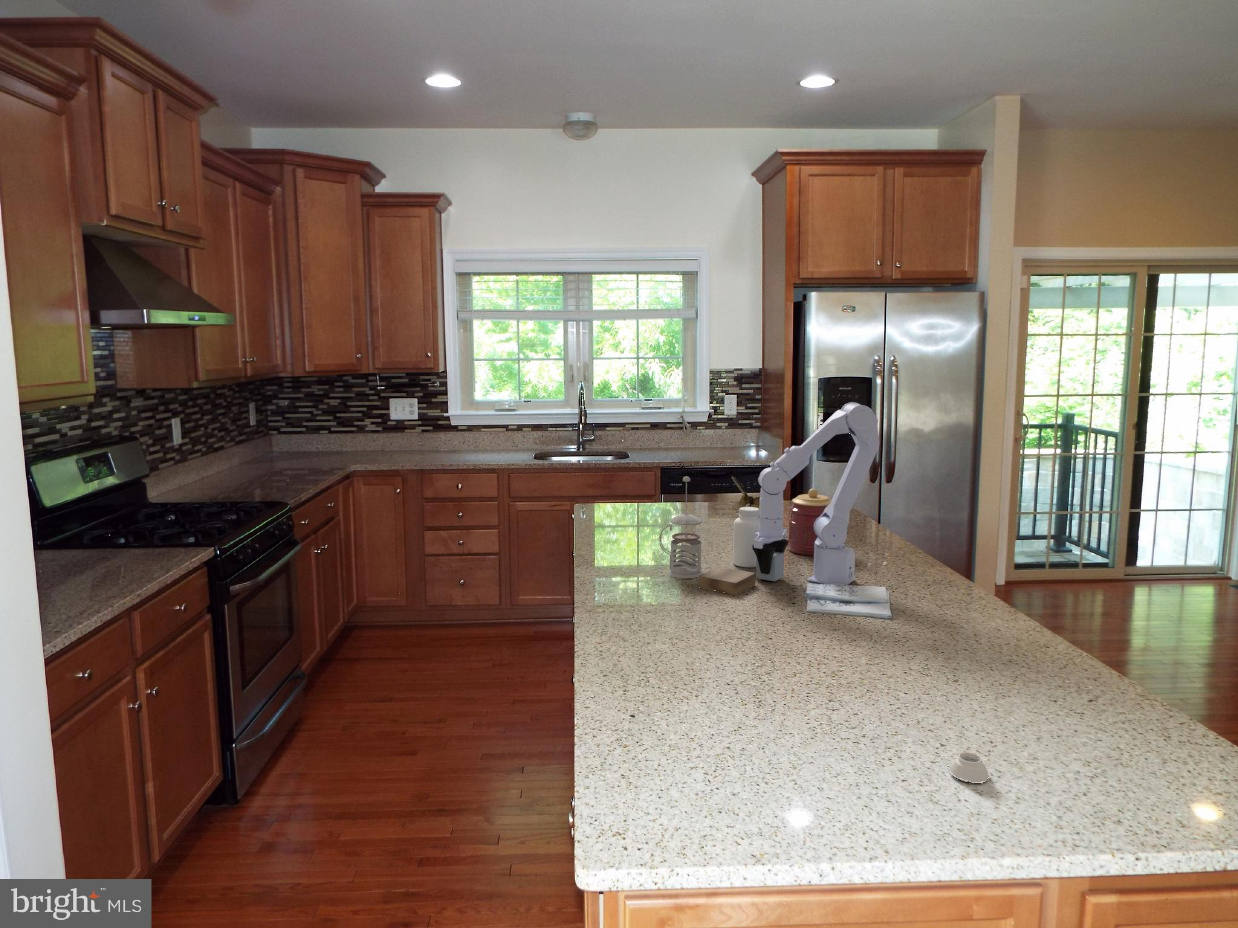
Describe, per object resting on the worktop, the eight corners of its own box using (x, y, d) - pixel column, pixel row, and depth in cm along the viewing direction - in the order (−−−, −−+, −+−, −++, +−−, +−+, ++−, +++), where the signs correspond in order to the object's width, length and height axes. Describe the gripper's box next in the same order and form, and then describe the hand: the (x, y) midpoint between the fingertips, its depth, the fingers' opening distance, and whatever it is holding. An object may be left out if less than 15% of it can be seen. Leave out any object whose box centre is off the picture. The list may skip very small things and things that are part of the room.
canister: (831, 545, 247) (833, 484, 244) (838, 557, 234) (840, 493, 231) (785, 544, 248) (787, 484, 245) (789, 556, 235) (791, 492, 233)
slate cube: (783, 576, 213) (784, 553, 212) (774, 581, 209) (775, 557, 208) (765, 573, 216) (765, 550, 215) (756, 578, 212) (756, 554, 211)
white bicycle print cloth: (889, 594, 203) (889, 585, 202) (892, 622, 183) (892, 612, 183) (806, 588, 208) (806, 579, 207) (800, 614, 188) (801, 605, 188)
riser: (755, 584, 208) (755, 573, 208) (735, 595, 200) (735, 582, 200) (718, 578, 214) (718, 566, 214) (698, 588, 206) (698, 575, 206)
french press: (702, 579, 213) (704, 480, 209) (656, 577, 216) (656, 478, 212) (706, 568, 223) (708, 473, 219) (662, 566, 225) (662, 472, 221)
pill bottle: (762, 560, 231) (763, 505, 228) (764, 568, 223) (765, 512, 220) (732, 559, 231) (733, 505, 229) (733, 567, 224) (734, 511, 221)
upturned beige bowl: (955, 764, 123) (944, 778, 119) (956, 744, 122) (945, 758, 118) (992, 775, 119) (982, 790, 116) (994, 755, 119) (983, 769, 115)
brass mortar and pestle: (728, 531, 264) (729, 473, 262) (772, 531, 265) (774, 473, 262) (732, 538, 256) (733, 478, 253) (778, 538, 256) (779, 478, 253)
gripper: (769, 510, 218) (768, 561, 221) (742, 520, 207) (741, 575, 209) (795, 513, 214) (793, 566, 217) (769, 524, 203) (768, 579, 205)
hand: (770, 570), depth 212 cm, fingers closed on slate cube, 5 cm apart
